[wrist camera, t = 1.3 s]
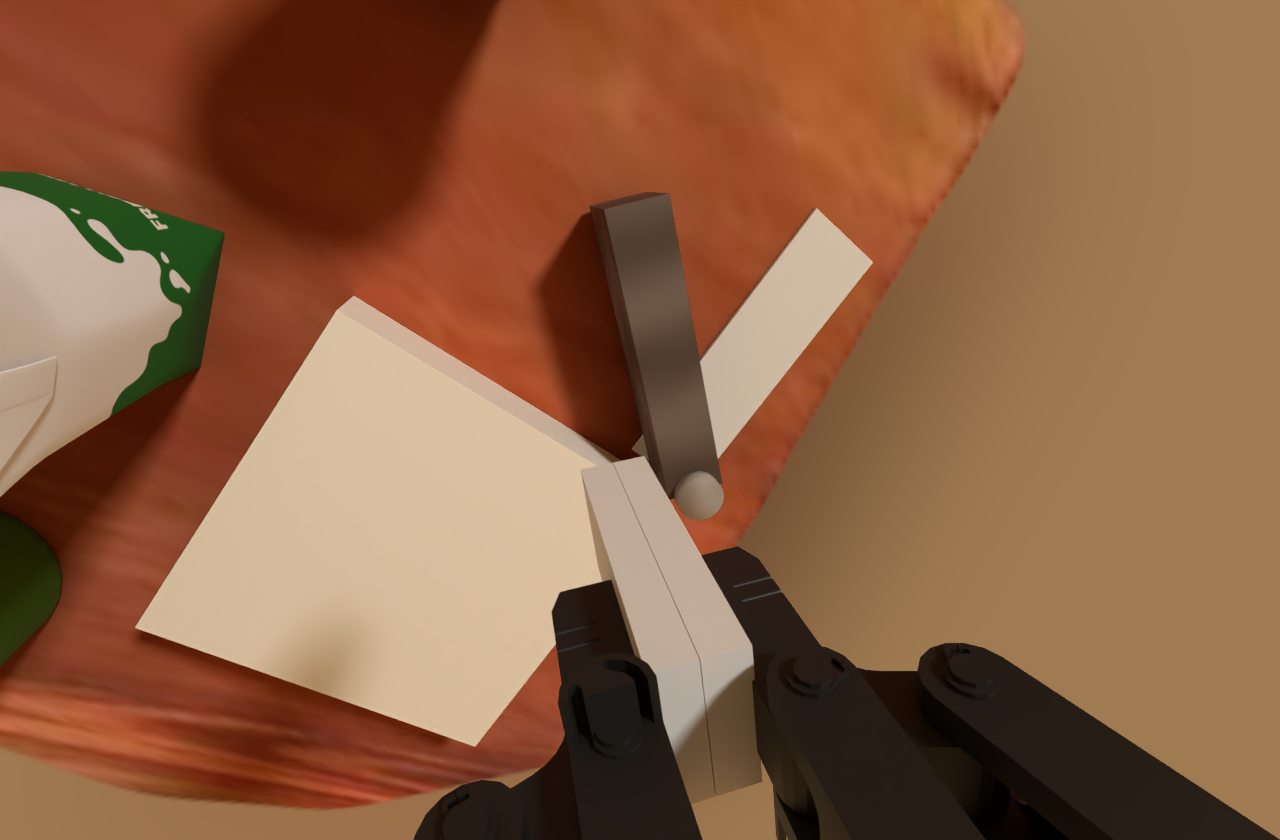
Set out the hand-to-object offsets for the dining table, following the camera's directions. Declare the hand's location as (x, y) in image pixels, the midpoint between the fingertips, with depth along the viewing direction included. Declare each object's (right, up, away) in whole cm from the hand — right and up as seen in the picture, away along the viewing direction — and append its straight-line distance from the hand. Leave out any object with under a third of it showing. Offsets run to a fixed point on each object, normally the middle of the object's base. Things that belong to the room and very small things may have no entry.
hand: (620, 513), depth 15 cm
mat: (+7, +6, +24) cm, 26 cm away
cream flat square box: (-13, -4, +23) cm, 27 cm away
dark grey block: (+1, +6, +22) cm, 23 cm away
